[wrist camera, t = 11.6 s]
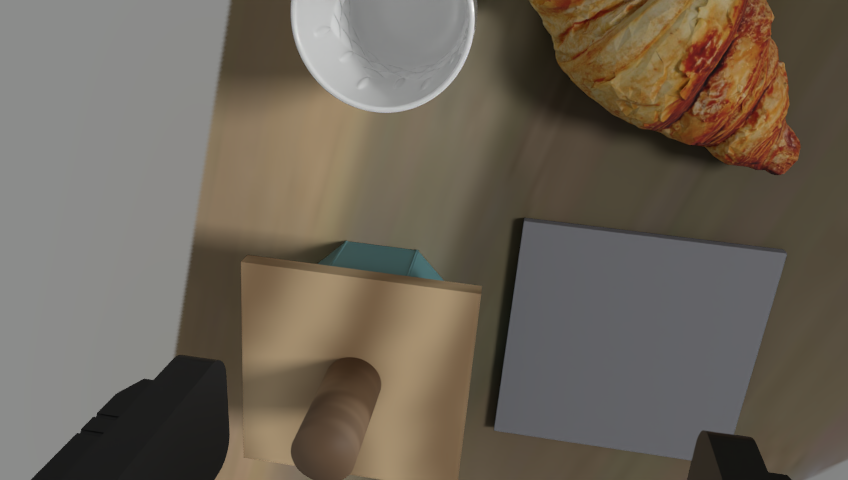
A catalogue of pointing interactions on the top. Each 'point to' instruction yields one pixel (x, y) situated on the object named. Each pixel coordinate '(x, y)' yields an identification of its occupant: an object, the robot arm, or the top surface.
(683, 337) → the mat
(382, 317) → the lid
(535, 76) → the top surface
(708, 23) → the croissant
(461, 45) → the white cup
